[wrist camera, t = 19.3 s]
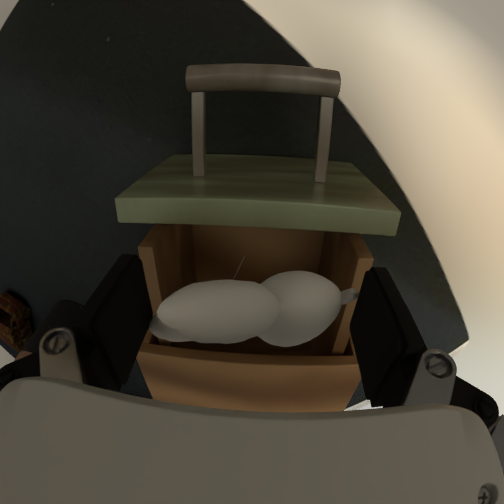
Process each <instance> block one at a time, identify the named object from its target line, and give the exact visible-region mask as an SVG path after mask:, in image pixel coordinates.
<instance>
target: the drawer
mask: <svg viewBox="0 0 504 504" xmlns="http://www.w3.org/2000/svg"><path fill="white" fill-rule="evenodd" d="M185 82H186V88H187V90H188V92H192V154H184V155H172V156H170V157H169V158H167V159H166V160H165V161H163V162H162V163H160V164H159V165H158V166H156V167H155V168H153V169H152V170H151V171H149V172H148V173H147V174H145V175H144V176H143V177H141V178H140V179H139V180H137V181H136V182H135V183H134V184H132V185H131V186H130V187H128V188H127V189H126V190H125V191H123V192H122V193H121V194H120V195H118V196H117V197H116V198H115V205H116V211H117V217H118V222H119V223H155V225H154V226H153V227H152V228H151V230H150V231H149V232H148V234H147V235H146V236H145V238H144V239H143V240H142V242H141V243H140V244H139V246H138V252H139V257H140V259H141V260H142V263H143V268H144V274H145V278H146V283H147V288H148V293H149V297H150V301H151V306H152V310H153V317H154V316H155V315H156V314H157V313H156V312H157V310H158V308H159V306H160V304H161V303H162V302H163V301H164V300H165V299H166V298H168V297H169V296H170V295H171V294H173V293H174V292H176V291H178V290H180V289H181V288H183V287H185V286H188V285H190V284H192V283H198V282H205V281H213V280H228V279H231V280H233V279H234V280H239V281H251V282H256V283H259V284H261V283H262V282H264V281H265V280H267V279H268V278H270V277H272V276H274V275H276V274H278V273H283V272H288V271H307V272H312V273H315V274H318V275H320V276H323V277H325V278H327V279H328V280H330V281H331V282H333V283H334V284H335V285H336V286H337V287H338V288H339V290H340V292H341V291H344V290H347V289H350V288H355V289H356V290H358V293H359V292H360V289H361V285H362V282H363V278H364V275H365V272H366V271H369V270H370V268H371V267H372V264H373V260H374V259H373V257H372V255H371V253H370V251H369V249H368V248H367V246H366V244H365V242H364V240H363V239H362V237H361V235H360V234H373V235H386V236H395V235H396V232H397V228H398V224H399V220H400V216H401V211H400V210H399V209H398V208H397V207H396V206H395V205H394V204H393V203H392V202H391V201H390V200H389V199H388V198H387V197H386V196H385V195H384V194H383V193H382V192H381V191H380V190H379V189H378V188H377V187H376V186H375V185H374V184H373V183H372V182H371V181H370V180H369V179H368V178H366V177H365V176H364V175H363V174H362V173H361V172H360V171H359V170H358V169H357V168H356V167H355V166H354V165H352V164H351V163H347V162H338V161H329V160H328V157H329V147H330V136H331V125H332V113H333V98H337V97H338V95H339V92H340V85H341V83H340V82H341V78H340V73H339V72H338V71H335V70H328V69H320V68H312V67H302V66H290V65H276V64H247V63H230V64H201V65H189V66H188V67H187V70H186V75H185ZM208 91H256V92H278V93H292V94H304V95H314V96H320V97H319V109H318V123H317V136H316V148H315V159H307V158H294V157H279V156H259V155H227V154H206V92H208ZM243 258H244V259H243ZM242 260H243V261H242ZM241 262H242V263H241ZM240 264H241V265H240ZM239 266H240V267H239ZM235 275H236V276H235ZM234 277H235V278H234ZM357 299H358V297H357ZM357 299H356V300H354V301H352V302H350V303H347V304H344V305H342V307H341V309H340V311H339V314H338V315H337V317H336V318H335V320H334V321H333V322H332V323H331V324H330V325H329V327H328V328H327V329H326V330H325V331H323V332H322V333H321V334H320V335H318V336H317V337H315V338H313V339H311V340H310V341H308V342H305V343H302V344H299V345H295V346H290V347H281V346H276V345H271V344H269V343H267V342H265V341H264V340H262V339H261V338H260V337H258V336H255V337H252V338H249V339H247V340H245V341H242V342H237V343H231V344H222V343H199V342H196V341H185V342H172V341H168V340H165V339H160V338H158V340H159V344H160V345H162V346H170V347H178V348H186V349H195V350H205V351H216V352H228V353H242V354H260V355H285V356H343V354H344V351H345V348H346V345H347V343H348V340H349V337H350V321H351V318H352V315H353V312H354V309H355V305H356V302H357Z"/></svg>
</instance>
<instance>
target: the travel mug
mask: <svg viewBox="0 0 504 504" xmlns="http://www.w3.org/2000/svg"><path fill="white" fill-rule="evenodd" d="M82 309H83V306H81V305H79V304H77V303H75V302H72V301H67V300H64V301H60V302H59V303H57V304H56V306H55V307H54V308H53V309H52V310H51V311H50V313H49V314H48V315H47V317H46V318H45V319H44V320H43V322H42V323H41V324H40V326H39V327H38V328H37V329H36V331H35V332H34V333H33V335H32V336H31V337H30V339H29V340H28V342H27V343H26V344H25V346H24V347H23V348H22V350H21V351H20V353H19V354H18V356H17V357H16V359H15V361H16V360H18V359H21V358H23V357H25V356H28V355H30V354H32V353H34V352H37V351H39V344H40V340H41V339H42V337H43V336H44V335H45V333H47V332H48V331H49V330H51V329H53V328H56V327H67V328H69V329H71V328H72V326H73V325H74V324H73V322H74V321H75V319H76V318H77V316H78V315H79V313H80V312H81V310H82Z"/></svg>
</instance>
